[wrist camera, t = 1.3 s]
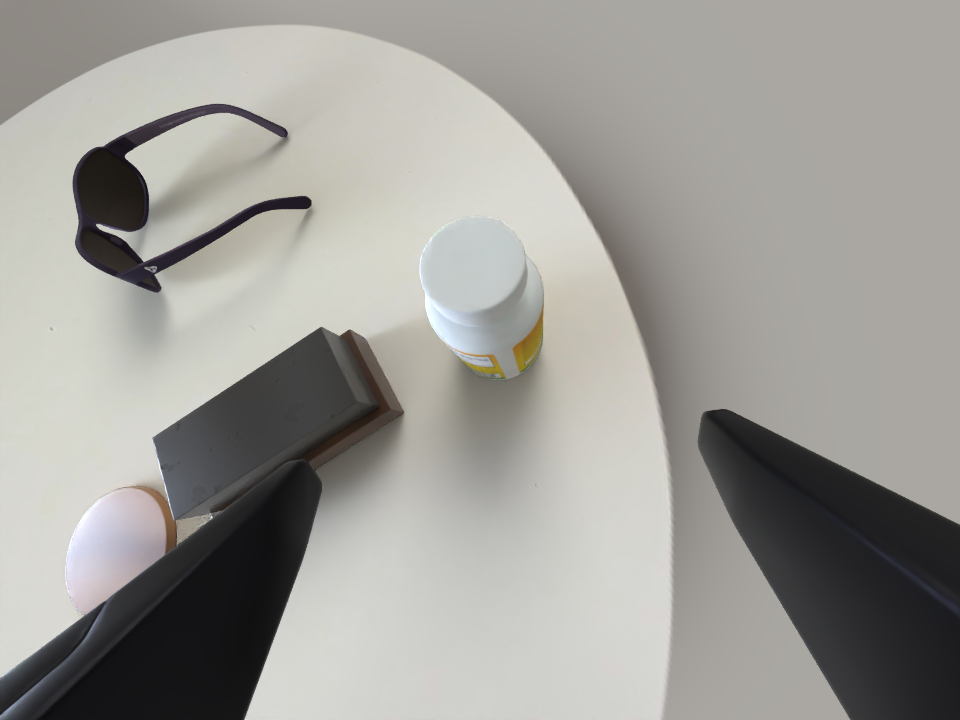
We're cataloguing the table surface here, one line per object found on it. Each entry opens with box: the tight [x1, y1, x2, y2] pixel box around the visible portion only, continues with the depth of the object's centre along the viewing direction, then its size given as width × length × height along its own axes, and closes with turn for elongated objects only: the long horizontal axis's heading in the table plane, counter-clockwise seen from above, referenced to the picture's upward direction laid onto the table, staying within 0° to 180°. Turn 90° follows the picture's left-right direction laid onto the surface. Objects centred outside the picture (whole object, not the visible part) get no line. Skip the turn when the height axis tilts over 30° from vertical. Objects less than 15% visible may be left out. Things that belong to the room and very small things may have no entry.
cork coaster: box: [66, 486, 176, 616], centre depth 23 cm, size 8×8×1 cm
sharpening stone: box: [152, 327, 404, 521], centre depth 20 cm, size 13×6×4 cm, turn 121°
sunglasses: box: [73, 104, 312, 293], centre depth 26 cm, size 14×16×5 cm
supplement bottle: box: [420, 216, 544, 380], centre depth 17 cm, size 5×5×10 cm
